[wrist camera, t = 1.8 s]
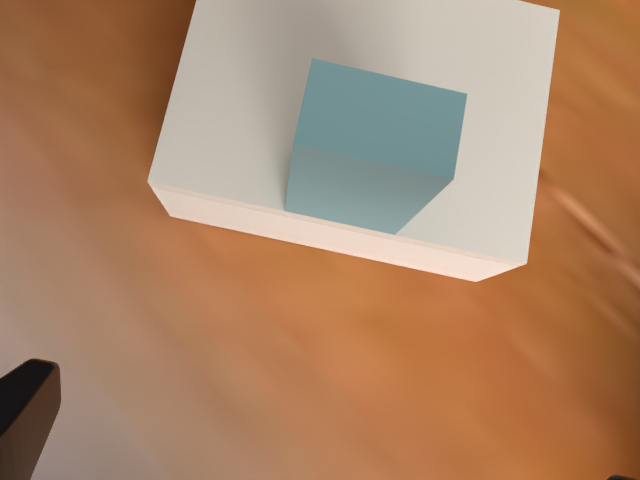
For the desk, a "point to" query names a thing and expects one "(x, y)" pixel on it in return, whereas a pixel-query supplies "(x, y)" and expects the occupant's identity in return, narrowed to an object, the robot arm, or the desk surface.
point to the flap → (367, 116)
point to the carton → (328, 237)
